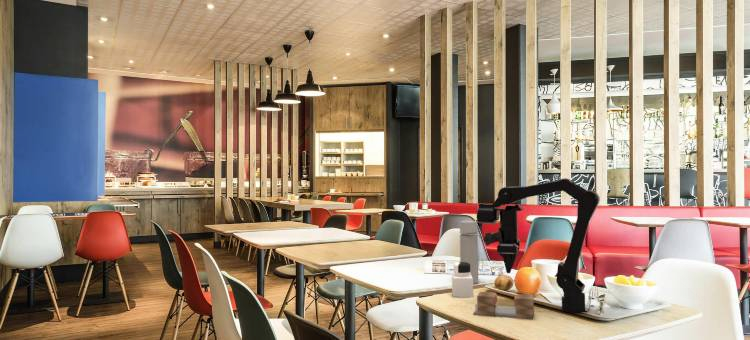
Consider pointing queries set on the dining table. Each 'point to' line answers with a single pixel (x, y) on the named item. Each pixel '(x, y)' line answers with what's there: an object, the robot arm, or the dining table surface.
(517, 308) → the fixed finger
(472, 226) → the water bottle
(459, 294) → the medicine bottle
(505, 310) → the rail
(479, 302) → the block
